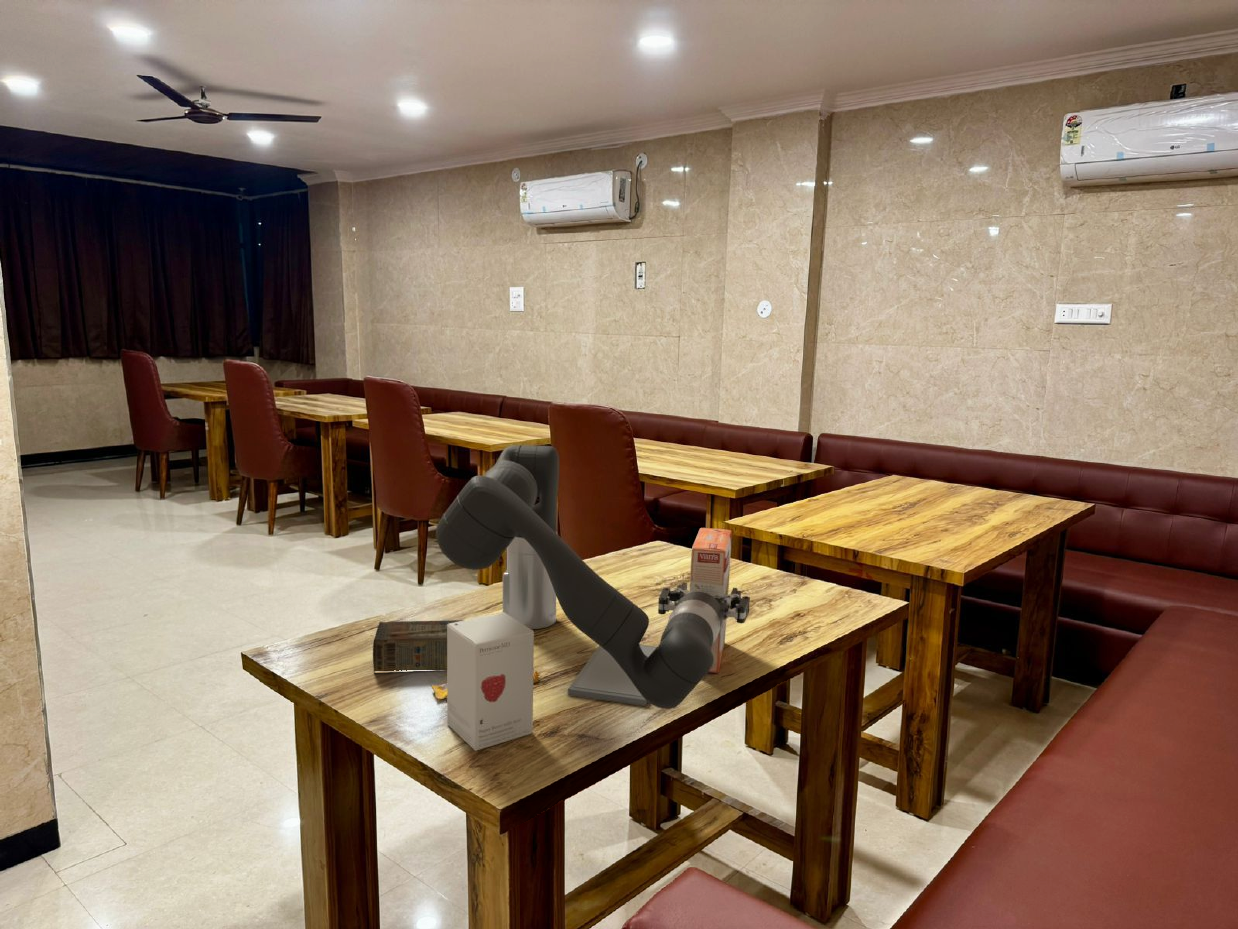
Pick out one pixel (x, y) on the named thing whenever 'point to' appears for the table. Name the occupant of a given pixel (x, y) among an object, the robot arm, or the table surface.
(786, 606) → the table surface
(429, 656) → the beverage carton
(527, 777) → the table surface
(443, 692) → the candy bar
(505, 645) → the supplement box
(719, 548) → the cracker box
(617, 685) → the slate board
